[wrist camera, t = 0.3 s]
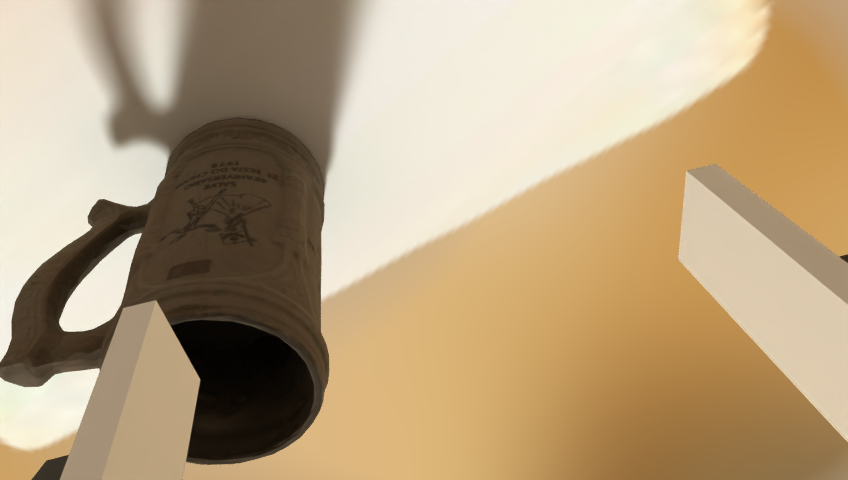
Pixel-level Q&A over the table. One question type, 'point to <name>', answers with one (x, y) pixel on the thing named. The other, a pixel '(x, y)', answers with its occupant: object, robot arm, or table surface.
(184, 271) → the beer stein
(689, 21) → the table surface
